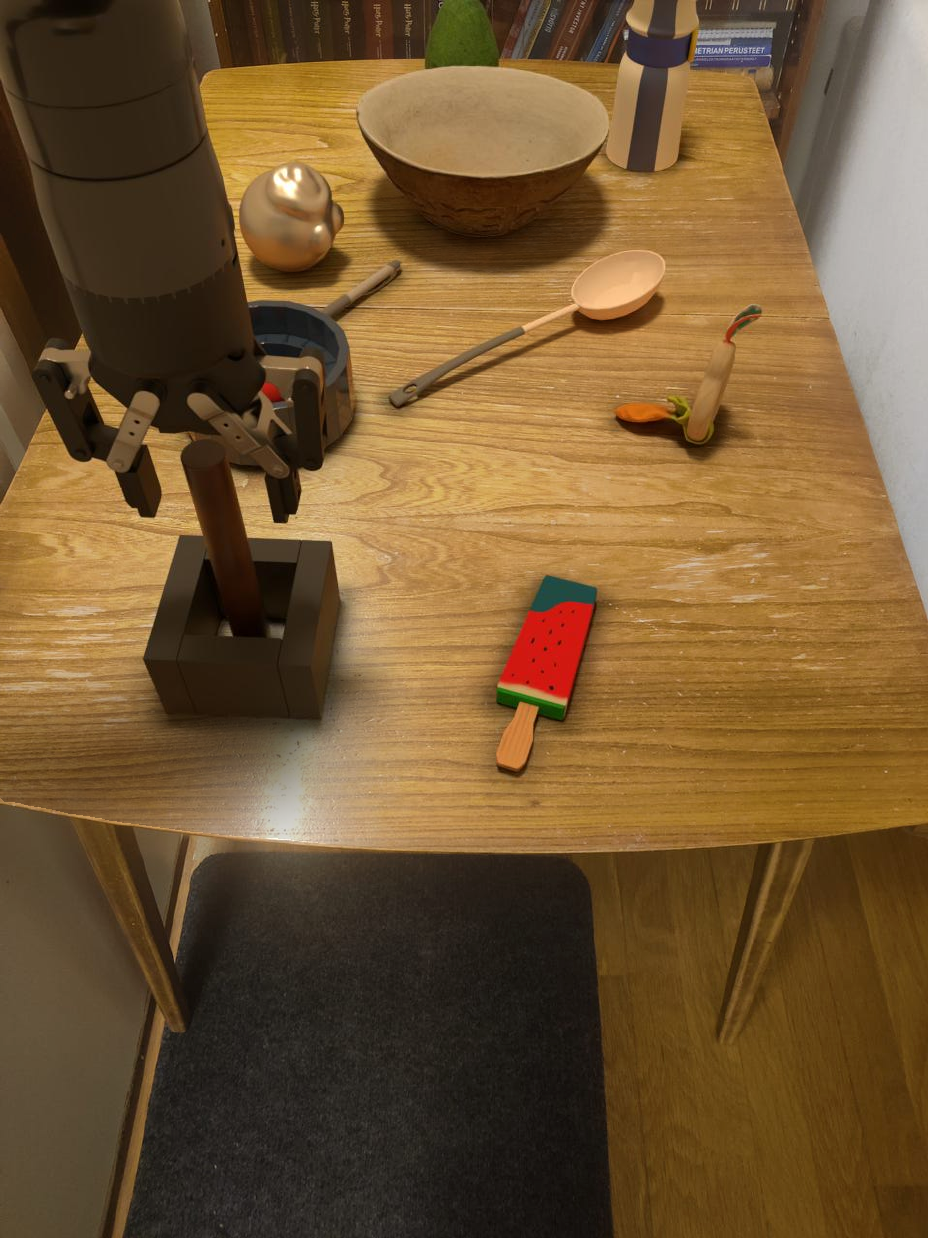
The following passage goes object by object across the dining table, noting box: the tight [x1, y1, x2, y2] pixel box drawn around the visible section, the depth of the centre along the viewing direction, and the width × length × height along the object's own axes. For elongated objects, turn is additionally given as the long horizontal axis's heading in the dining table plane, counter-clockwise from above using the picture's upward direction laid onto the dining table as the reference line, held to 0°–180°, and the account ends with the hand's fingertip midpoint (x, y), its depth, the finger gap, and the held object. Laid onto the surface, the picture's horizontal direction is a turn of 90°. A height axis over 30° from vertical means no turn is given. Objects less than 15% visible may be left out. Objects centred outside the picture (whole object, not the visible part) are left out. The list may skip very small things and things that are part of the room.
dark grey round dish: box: [187, 299, 356, 467], centre depth 79 cm, size 14×14×6 cm
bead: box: [261, 382, 285, 403], centre depth 80 cm, size 3×3×3 cm
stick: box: [179, 439, 273, 638], centre depth 60 cm, size 2×2×18 cm
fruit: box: [424, 0, 500, 70], centre depth 109 cm, size 8×8×12 cm
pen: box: [320, 259, 403, 318], centre depth 90 cm, size 1×14×1 cm, turn 143°
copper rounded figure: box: [238, 161, 345, 273], centre depth 91 cm, size 9×10×10 cm
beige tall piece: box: [614, 303, 763, 445], centre depth 77 cm, size 8×8×12 cm
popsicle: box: [495, 574, 598, 772], centre depth 65 cm, size 4×2×15 cm
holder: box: [142, 534, 341, 721], centre depth 65 cm, size 10×10×6 cm
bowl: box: [355, 66, 610, 238], centre depth 97 cm, size 24×24×10 cm
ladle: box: [388, 249, 667, 407], centre depth 87 cm, size 6×28×5 cm, turn 124°
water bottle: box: [605, 0, 700, 173], centre depth 98 cm, size 8×9×25 cm
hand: (218, 509), depth 56 cm, fingers open, 7 cm apart
